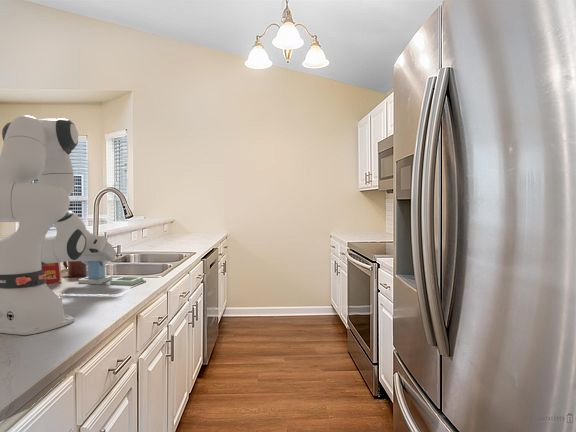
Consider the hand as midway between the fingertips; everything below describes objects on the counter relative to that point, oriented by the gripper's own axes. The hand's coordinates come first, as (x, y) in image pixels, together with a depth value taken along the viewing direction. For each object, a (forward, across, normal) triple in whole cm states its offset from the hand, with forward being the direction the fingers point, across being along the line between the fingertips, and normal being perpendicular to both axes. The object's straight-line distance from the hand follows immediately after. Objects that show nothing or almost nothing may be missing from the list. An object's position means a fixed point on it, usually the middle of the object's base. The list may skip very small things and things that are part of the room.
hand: (97, 264), depth 162 cm
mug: (+13, -17, +2) cm, 21 cm away
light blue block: (+3, 0, -4) cm, 5 cm away
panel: (+5, +6, -6) cm, 10 cm away
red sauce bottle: (+3, -20, -8) cm, 22 cm away
